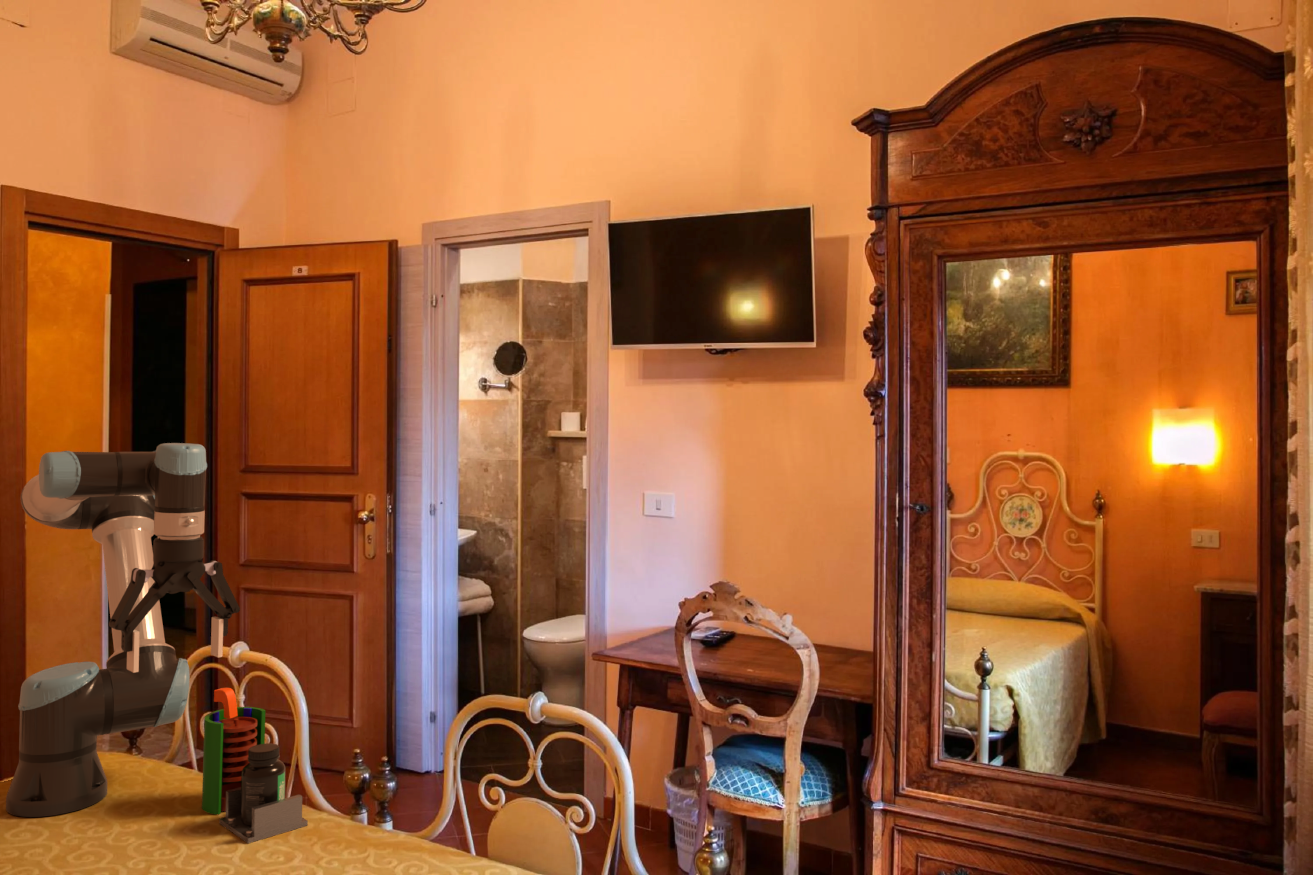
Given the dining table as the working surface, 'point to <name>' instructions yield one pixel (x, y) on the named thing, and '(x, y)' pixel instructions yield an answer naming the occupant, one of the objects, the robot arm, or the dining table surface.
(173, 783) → the dining table surface
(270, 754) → the supplement bottle
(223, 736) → the motor
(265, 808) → the cradle
